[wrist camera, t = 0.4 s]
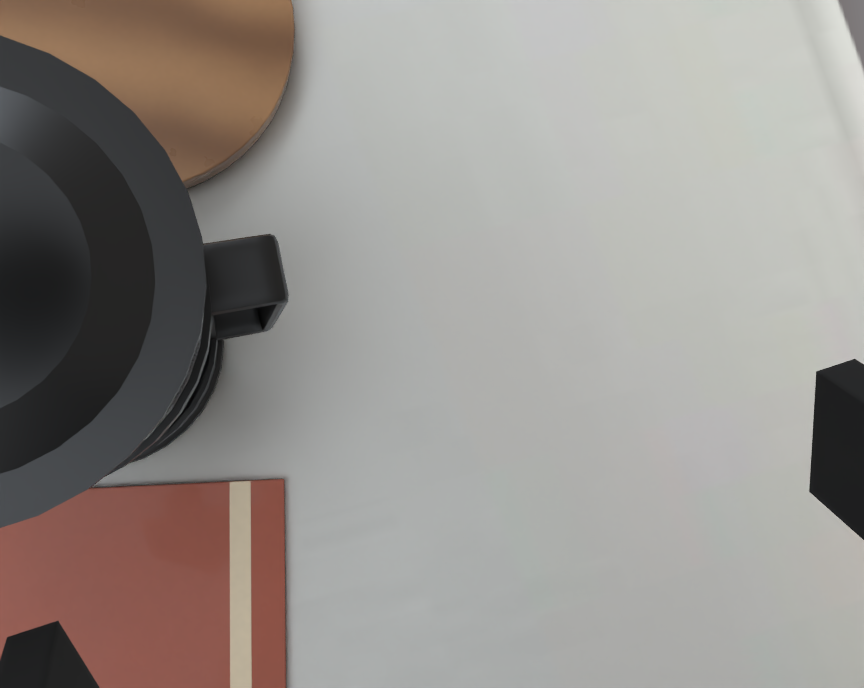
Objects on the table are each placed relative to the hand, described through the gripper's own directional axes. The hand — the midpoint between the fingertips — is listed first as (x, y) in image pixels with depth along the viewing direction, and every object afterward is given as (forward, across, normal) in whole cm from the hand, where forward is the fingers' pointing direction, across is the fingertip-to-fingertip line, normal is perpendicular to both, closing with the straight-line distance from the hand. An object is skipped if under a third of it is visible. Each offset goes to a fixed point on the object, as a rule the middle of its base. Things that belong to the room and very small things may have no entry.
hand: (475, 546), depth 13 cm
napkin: (+13, +12, +12) cm, 22 cm away
